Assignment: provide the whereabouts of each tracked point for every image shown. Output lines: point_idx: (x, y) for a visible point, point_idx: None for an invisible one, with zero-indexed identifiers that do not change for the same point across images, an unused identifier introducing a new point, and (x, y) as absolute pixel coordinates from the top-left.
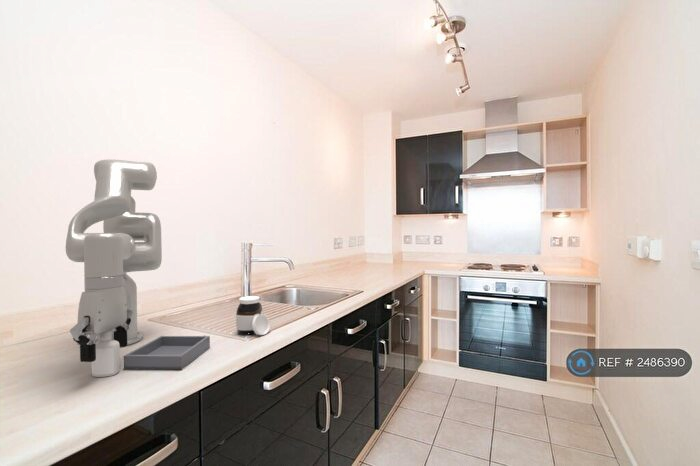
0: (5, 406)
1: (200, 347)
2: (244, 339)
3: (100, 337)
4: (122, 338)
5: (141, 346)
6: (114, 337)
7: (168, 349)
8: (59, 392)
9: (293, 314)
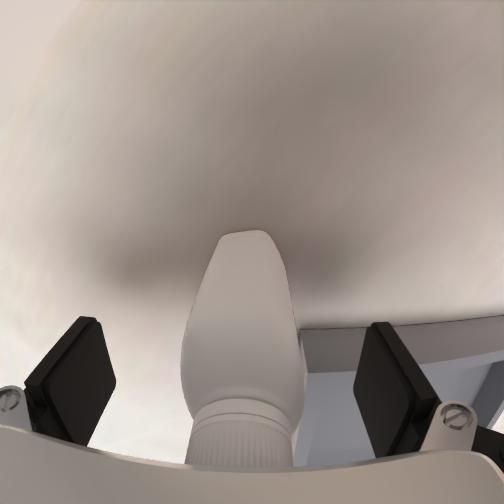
0: (2, 125)
1: None
2: None
3: (190, 444)
4: (371, 416)
5: (435, 364)
6: (389, 374)
7: (457, 383)
8: (80, 218)
9: None
